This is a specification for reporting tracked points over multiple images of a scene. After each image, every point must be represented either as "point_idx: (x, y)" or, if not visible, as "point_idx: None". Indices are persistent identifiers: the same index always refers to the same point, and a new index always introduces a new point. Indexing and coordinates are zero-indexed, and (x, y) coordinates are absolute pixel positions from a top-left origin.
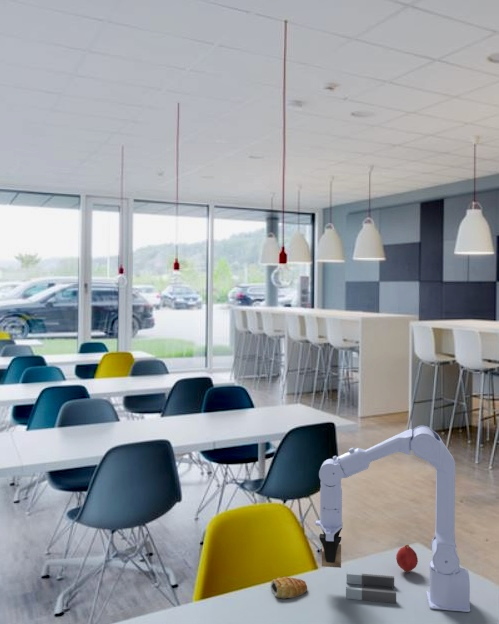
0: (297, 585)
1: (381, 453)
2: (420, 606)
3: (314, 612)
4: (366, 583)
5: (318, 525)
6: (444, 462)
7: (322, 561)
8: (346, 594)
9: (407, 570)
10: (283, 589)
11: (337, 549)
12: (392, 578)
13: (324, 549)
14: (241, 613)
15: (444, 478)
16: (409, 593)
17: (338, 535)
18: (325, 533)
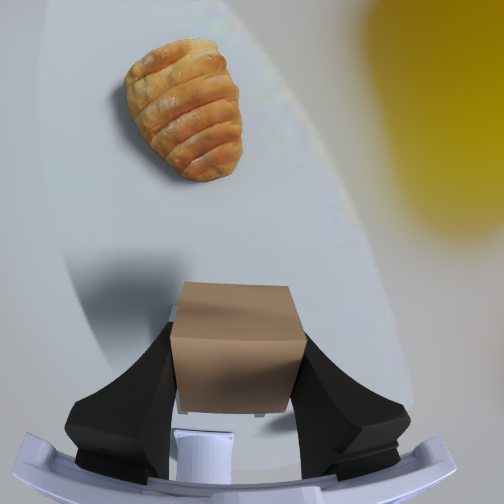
0: (166, 145)
1: None
2: (180, 420)
3: (76, 211)
4: None
5: (208, 501)
6: None
7: (181, 300)
8: (170, 314)
9: None
10: (130, 92)
11: (215, 403)
12: (254, 414)
13: (130, 368)
14: (64, 11)
15: None
16: (229, 415)
17: (300, 443)
18: (42, 475)
